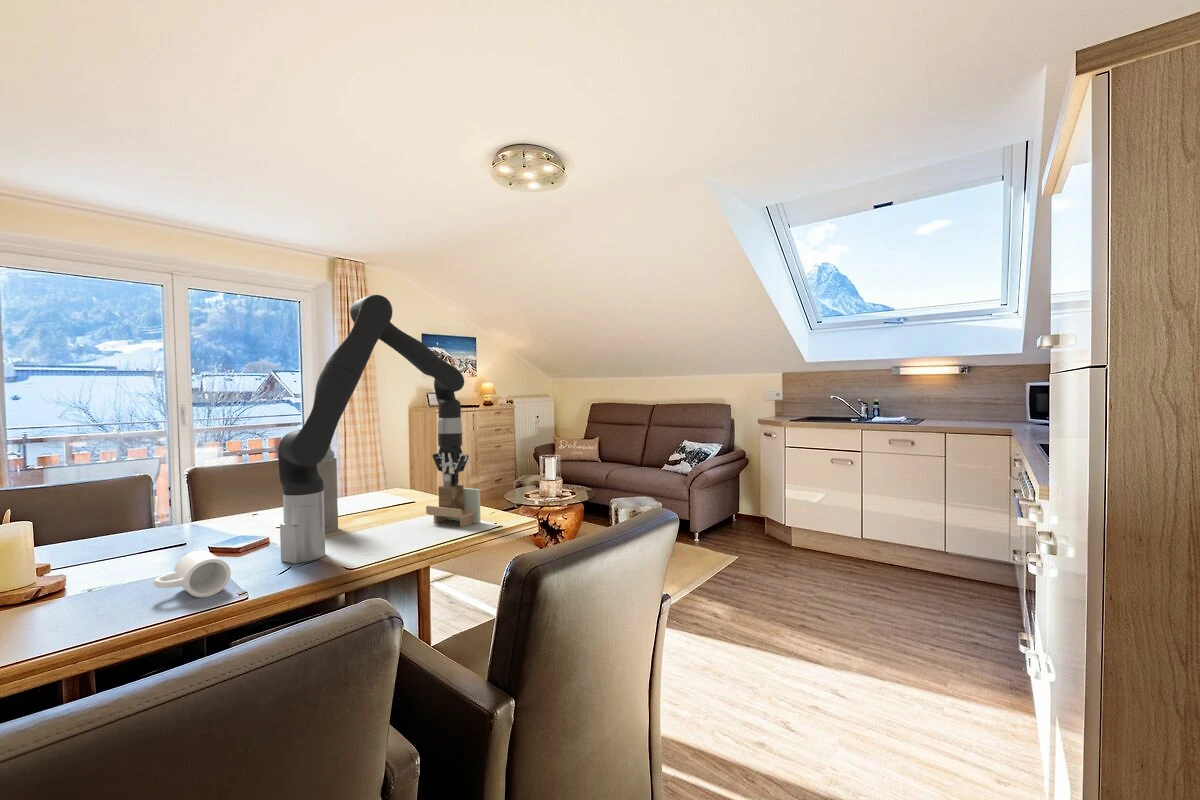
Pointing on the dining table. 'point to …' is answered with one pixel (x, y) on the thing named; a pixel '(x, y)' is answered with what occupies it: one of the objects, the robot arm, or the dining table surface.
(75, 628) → the dining table surface
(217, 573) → the mug
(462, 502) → the brown box
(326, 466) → the thermos bottle
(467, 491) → the small display stand
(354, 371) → the robot arm
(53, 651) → the dining table surface
